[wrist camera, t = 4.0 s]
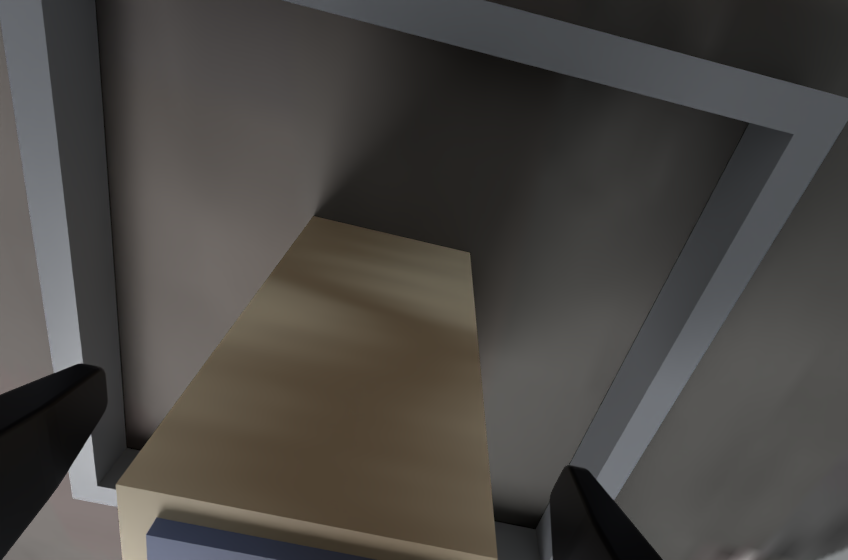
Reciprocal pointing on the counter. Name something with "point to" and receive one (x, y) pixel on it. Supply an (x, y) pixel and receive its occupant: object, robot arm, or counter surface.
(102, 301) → the grey picture frame
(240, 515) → the birch label block
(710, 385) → the counter surface
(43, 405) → the robot arm
